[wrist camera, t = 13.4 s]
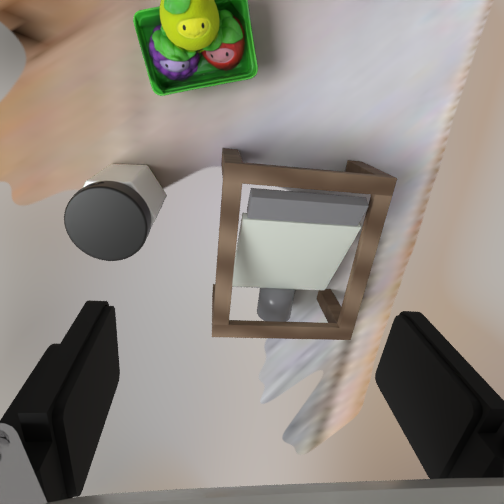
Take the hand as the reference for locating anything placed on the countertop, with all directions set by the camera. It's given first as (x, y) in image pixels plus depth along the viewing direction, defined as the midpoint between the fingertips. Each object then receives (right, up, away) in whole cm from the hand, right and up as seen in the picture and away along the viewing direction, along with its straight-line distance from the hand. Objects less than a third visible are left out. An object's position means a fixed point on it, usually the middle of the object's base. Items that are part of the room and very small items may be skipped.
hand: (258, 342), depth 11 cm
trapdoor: (+5, +4, +32) cm, 33 cm away
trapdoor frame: (+4, +6, +38) cm, 39 cm away
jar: (-16, +11, +34) cm, 39 cm away
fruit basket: (-6, +27, +27) cm, 39 cm away
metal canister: (+4, -2, +39) cm, 39 cm away
